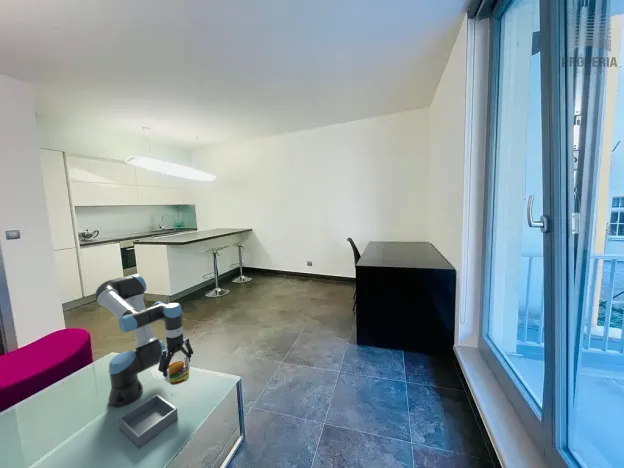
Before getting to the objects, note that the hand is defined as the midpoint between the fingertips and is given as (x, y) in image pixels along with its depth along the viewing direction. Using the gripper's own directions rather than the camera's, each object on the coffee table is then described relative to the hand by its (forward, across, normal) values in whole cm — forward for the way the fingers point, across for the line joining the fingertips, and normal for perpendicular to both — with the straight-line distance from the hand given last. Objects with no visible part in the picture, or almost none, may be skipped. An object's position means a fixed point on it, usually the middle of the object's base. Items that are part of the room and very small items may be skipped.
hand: (177, 374), depth 134 cm
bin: (+18, -15, +2) cm, 23 cm away
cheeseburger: (+3, 0, 0) cm, 3 cm away
